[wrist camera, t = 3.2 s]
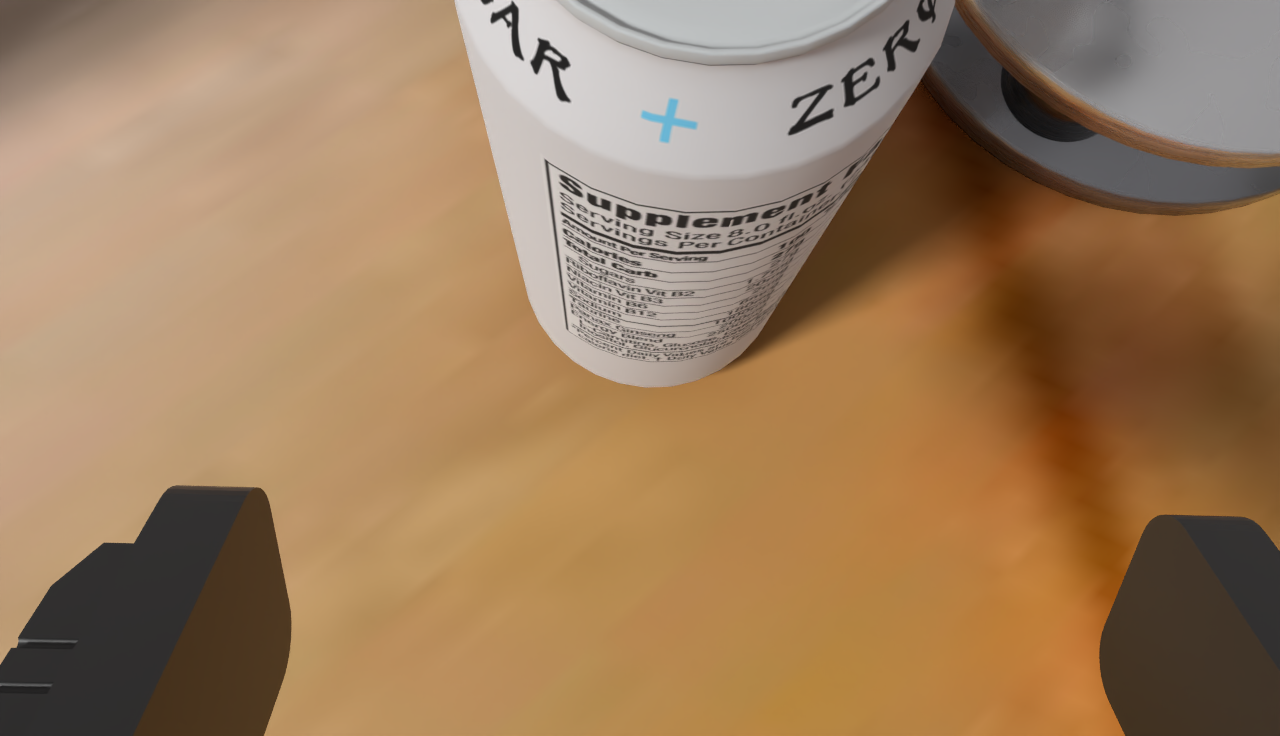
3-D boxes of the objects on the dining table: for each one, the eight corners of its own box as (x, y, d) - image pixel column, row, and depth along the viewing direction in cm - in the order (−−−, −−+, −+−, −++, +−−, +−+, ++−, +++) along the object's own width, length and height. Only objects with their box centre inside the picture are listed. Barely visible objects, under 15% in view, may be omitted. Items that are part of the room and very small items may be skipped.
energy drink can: (752, 143, 26) (953, -433, 11) (792, 377, 25) (1075, 76, 10) (512, 171, 26) (393, -387, 11) (542, 411, 24) (453, 147, 10)
